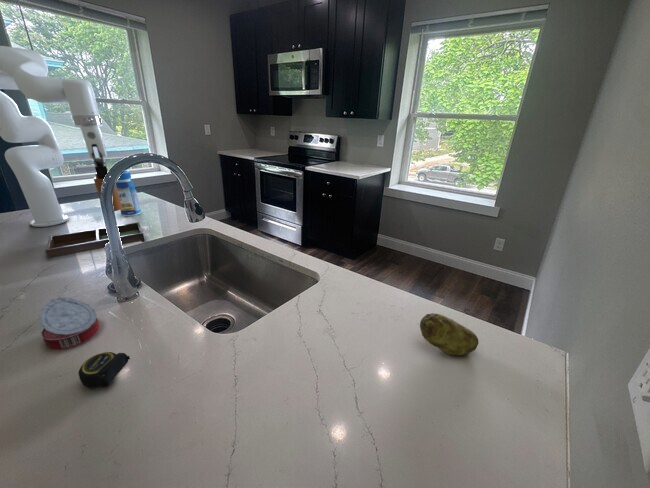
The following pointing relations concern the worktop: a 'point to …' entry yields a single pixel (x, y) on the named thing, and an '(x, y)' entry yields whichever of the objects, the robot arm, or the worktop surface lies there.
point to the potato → (448, 334)
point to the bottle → (116, 198)
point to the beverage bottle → (128, 195)
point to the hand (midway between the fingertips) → (103, 176)
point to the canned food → (67, 323)
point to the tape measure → (102, 369)
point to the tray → (90, 240)
